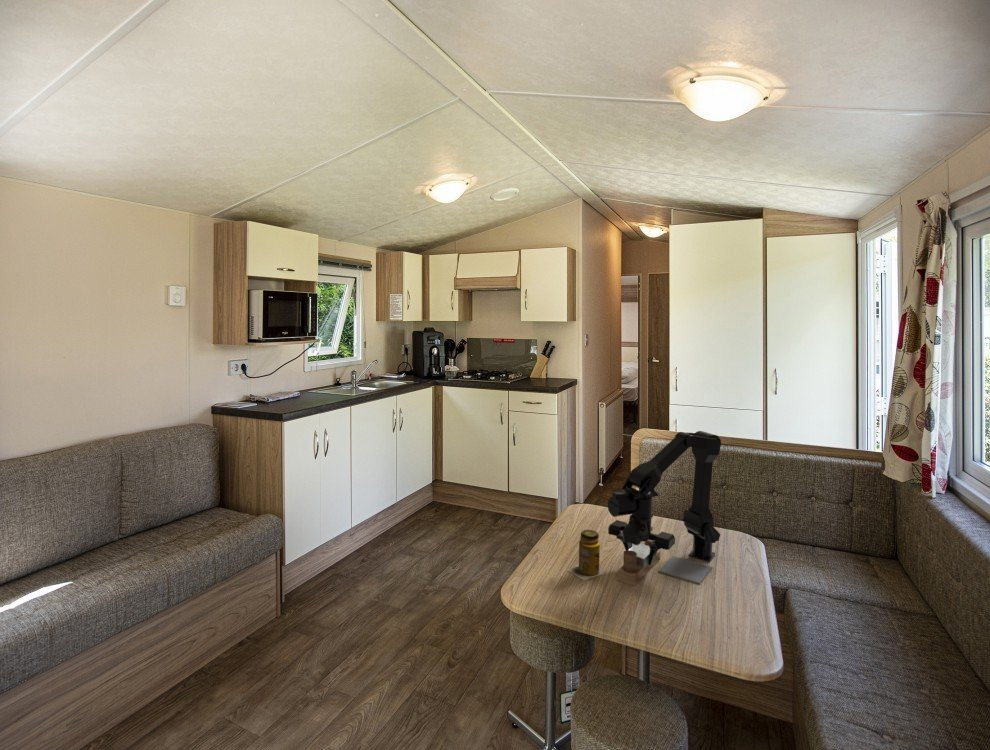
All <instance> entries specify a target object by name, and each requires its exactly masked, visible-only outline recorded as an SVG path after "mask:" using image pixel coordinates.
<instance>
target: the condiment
mask: <svg viewBox="0 0 990 750" xmlns="http://www.w3.org/2000/svg"><path fill="white" fill-rule="evenodd" d="M599 537H600V536H599V532H598V531H596V530H592V529H586V530H585V529H583V530H581V532H580V539H579V544H578V566H575V567H573V568H569V569H567V571H568V572H570V573H571V574H572V575H575V576H576V577H577V578H579V579H581V580H583V581H586V580H589V579H592V578H595V577H599V576H601V575H604V574H606V572H605V571H604V570H601V569H600V558H601V557H600V551H601V546H600V545H601V544H600V539H599Z"/></svg>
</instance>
